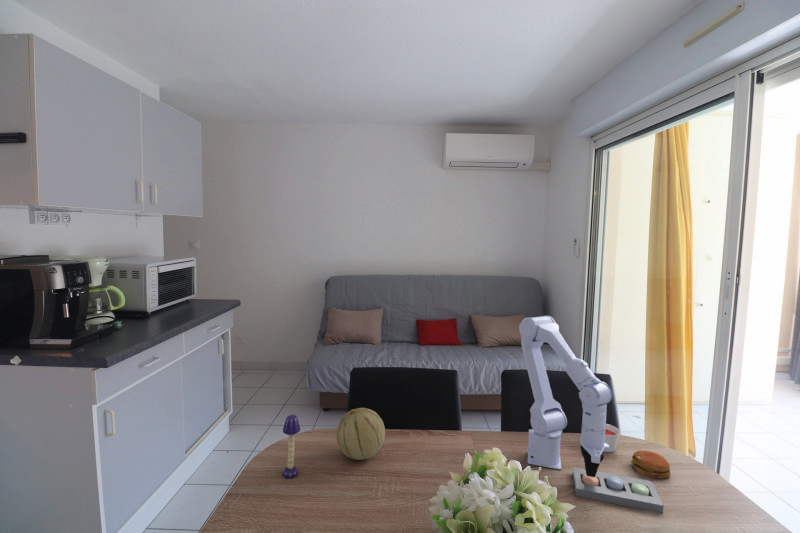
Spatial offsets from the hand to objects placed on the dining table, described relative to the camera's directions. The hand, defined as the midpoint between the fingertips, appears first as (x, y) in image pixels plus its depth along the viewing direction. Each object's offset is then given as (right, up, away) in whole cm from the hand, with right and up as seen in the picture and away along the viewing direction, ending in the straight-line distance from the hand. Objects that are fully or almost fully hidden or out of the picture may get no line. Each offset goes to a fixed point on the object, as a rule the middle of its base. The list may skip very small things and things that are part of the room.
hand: (590, 475), depth 112 cm
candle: (+15, -3, +23) cm, 27 cm away
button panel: (+6, -4, -2) cm, 7 cm away
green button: (+11, -3, -4) cm, 12 cm away
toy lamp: (-83, -1, +2) cm, 83 cm away
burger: (+22, -4, +9) cm, 24 cm away
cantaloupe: (-64, -1, +13) cm, 66 cm away
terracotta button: (0, -3, 0) cm, 3 cm away
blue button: (+6, -2, -2) cm, 6 cm away
